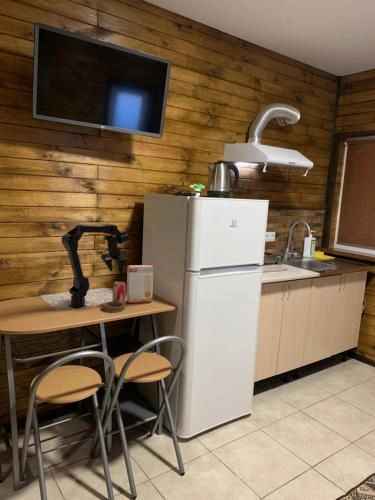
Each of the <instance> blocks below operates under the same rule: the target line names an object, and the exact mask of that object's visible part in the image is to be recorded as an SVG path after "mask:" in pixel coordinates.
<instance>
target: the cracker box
mask: <svg viewBox="0 0 375 500" xmlns="http://www.w3.org/2000/svg"><path fill="white" fill-rule="evenodd" d="M126 274H127V275H126V277H127V278H126V302H127V304H134V303H137V304H138V303H153V288H154V287H153V286H154V285H153V284H154V266H153V265H151V264H150V265H149V264H148V265H147V264H146V265H145V264H142V265H141V264H140V265H137V264H135V265H131V264H130V265H127V273H126Z"/></svg>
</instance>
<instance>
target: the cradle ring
mask: <svg viewBox="0 0 375 500" xmlns="http://www.w3.org/2000/svg"><path fill="white" fill-rule="evenodd" d="M112 306H113V307H112ZM102 308H103V311H105V312H108V313H121V312H124V311H125V310H126V304H125V303H122V302H116V301H113V300H112V301H105V302H104V303H103V307H102Z"/></svg>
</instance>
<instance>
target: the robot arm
mask: <svg viewBox="0 0 375 500" xmlns="http://www.w3.org/2000/svg"><path fill="white" fill-rule="evenodd" d="M85 233H87V234H88V233H92V234H93V233H99V234H101V233H102V234H105V235H104V237H103V238H102V240H104V241H106V245H107V247H106V251H107V252H105V253H102V254H101V255H100V259H101V260H102V262H103V263H104V264H105V266H106V267H107V268H108V270H109V271H110V272H112V271H113V260H114V262H115V267H116V270H117V272H118V274H119V275H122V274H123V269H124V265H126V264H127V263H129V258H128V257H127V256H128V251H129V250H126V249H123V248H122V247H119V245H123V244H126V243H129V242H130V241H131V240H130V239H131V238H130V235H129V233H128V231H127V230H122V231H120V230H119V228H118V226H117V225H116V224H113V223H103V224H101V225H93V224H92V225H91V224H90V225H88V224H77V225H75V227H74V228H72V229H71V230H68V232H67V233H65V234H63V235H62V237H61V239H60V240H61V243H62V245H63V247H64V249H65V250H66V251H67V254H68V259H69V262H70V266H71V269H72V274H73V281H72V287H70V289H69V290H68V292H69V294H70V295H71V296H70V304H69V305H68V307H71V308H73V309H80V308H85V307H87V305H86V297H87V293H88V291H89V289H90V286H91V284H90V280H89V278H88V277H86V276H84V272H83V268H82V265H81V261H80V257H79V253H78V249H79V241H80V240H81V239H82V237H83V235H84V234H85Z"/></svg>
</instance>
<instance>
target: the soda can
mask: <svg viewBox="0 0 375 500" xmlns="http://www.w3.org/2000/svg"><path fill="white" fill-rule="evenodd" d="M126 297H127V284H126V283H125V281H114V284H113V286H112V302H113V301H116V302H122V303H124V304H125V303H126Z"/></svg>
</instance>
